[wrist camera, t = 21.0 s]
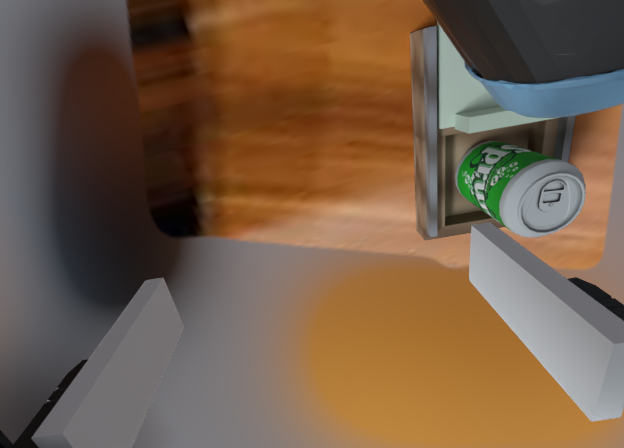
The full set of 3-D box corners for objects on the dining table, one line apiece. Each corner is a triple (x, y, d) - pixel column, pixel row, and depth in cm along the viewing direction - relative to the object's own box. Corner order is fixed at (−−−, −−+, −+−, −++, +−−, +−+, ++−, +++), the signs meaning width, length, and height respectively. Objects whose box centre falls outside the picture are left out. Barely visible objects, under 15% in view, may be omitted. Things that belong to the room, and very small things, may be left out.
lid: (436, 0, 30) (455, -9, 27) (578, -26, 30) (615, -39, 26) (437, 130, 35) (453, 136, 31) (559, 108, 35) (588, 112, 31)
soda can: (516, 135, 38) (605, 158, 27) (507, 195, 42) (583, 238, 31) (453, 142, 38) (517, 168, 27) (448, 202, 41) (504, 246, 31)
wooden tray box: (409, 33, 34) (424, 28, 30) (564, 5, 34) (598, -4, 30) (416, 230, 43) (428, 244, 40) (536, 209, 43) (560, 222, 39)
